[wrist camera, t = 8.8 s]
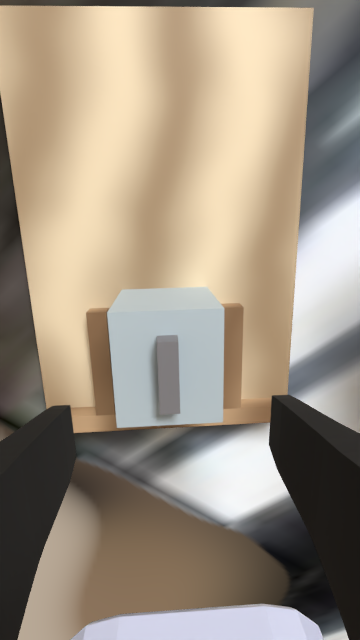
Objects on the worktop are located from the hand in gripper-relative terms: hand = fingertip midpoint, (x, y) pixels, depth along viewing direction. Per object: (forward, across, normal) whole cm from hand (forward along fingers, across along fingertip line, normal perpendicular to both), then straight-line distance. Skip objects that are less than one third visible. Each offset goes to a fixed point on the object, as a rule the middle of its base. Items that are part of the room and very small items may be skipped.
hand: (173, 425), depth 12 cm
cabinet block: (+7, 0, -1) cm, 7 cm away
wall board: (+8, 0, -6) cm, 10 cm away
